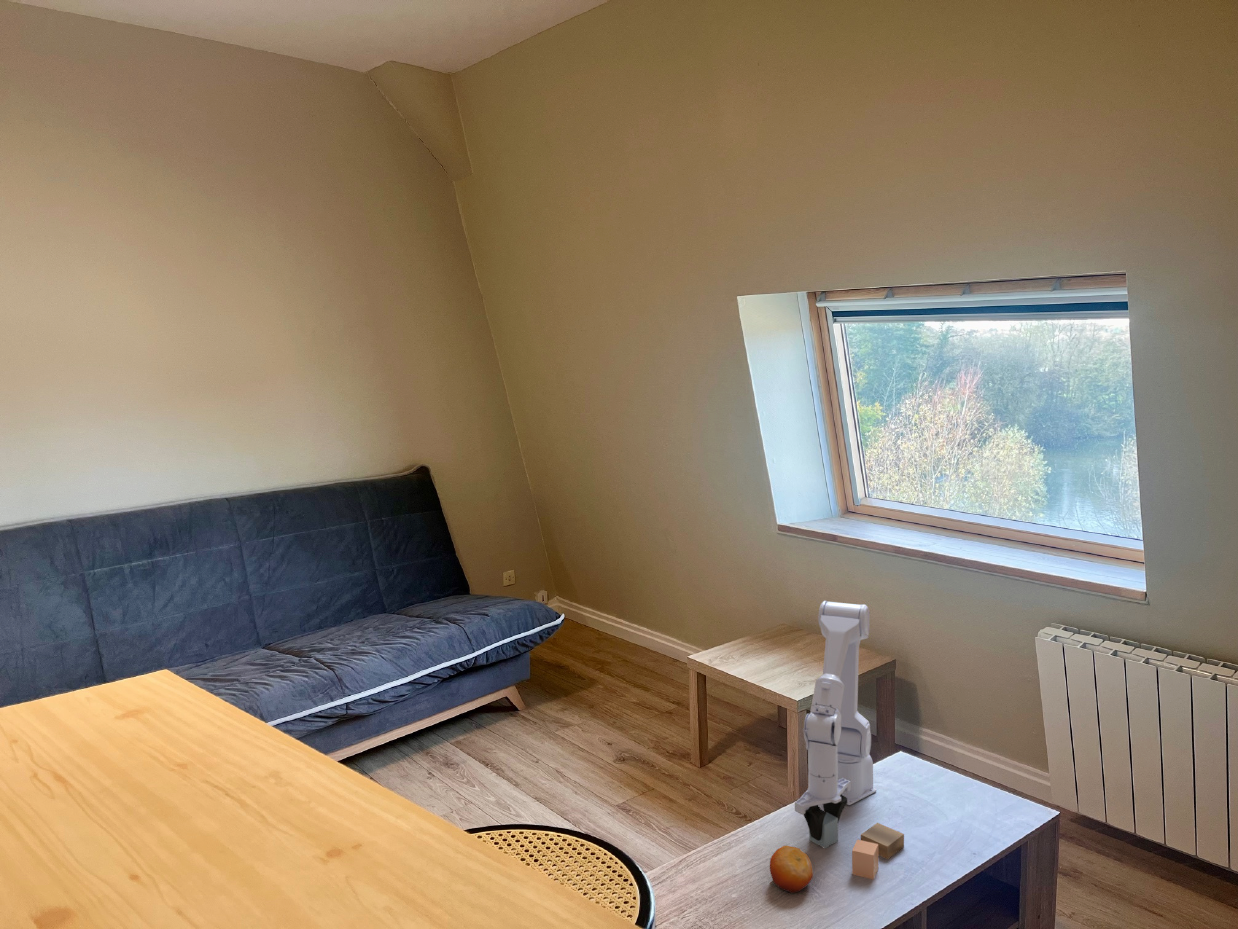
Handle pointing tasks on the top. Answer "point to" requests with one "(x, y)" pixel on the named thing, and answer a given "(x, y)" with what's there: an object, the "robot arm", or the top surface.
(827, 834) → the grayish teal block
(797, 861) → the fruit
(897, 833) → the walnut block
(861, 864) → the terracotta block
